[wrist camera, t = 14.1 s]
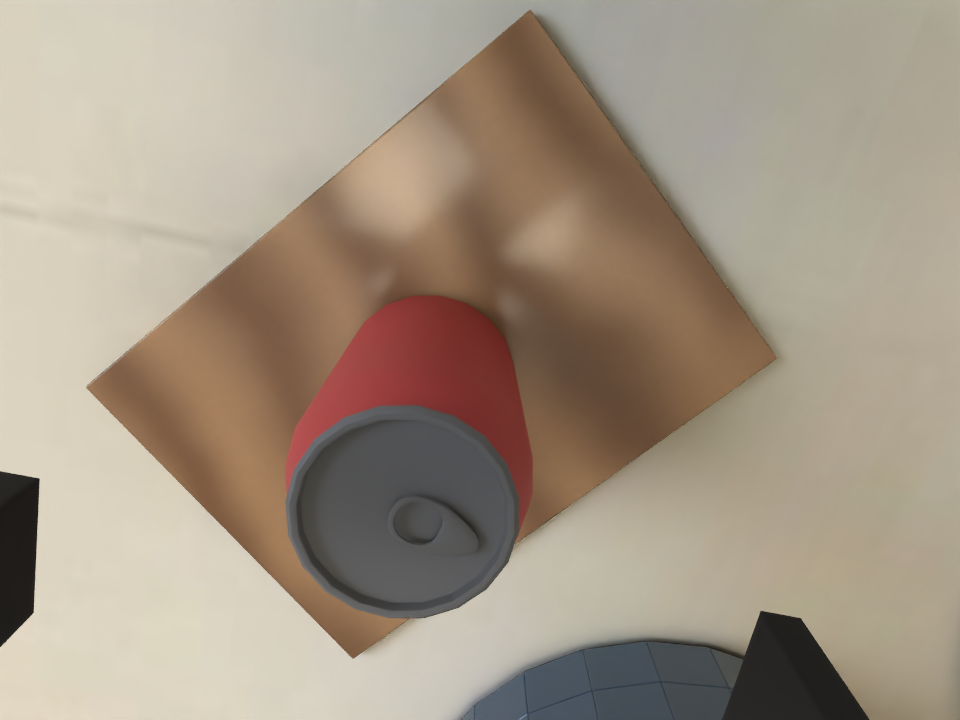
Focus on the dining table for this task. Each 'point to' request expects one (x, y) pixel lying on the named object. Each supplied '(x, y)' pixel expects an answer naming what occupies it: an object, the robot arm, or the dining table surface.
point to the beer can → (412, 463)
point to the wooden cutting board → (457, 275)
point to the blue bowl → (619, 686)
